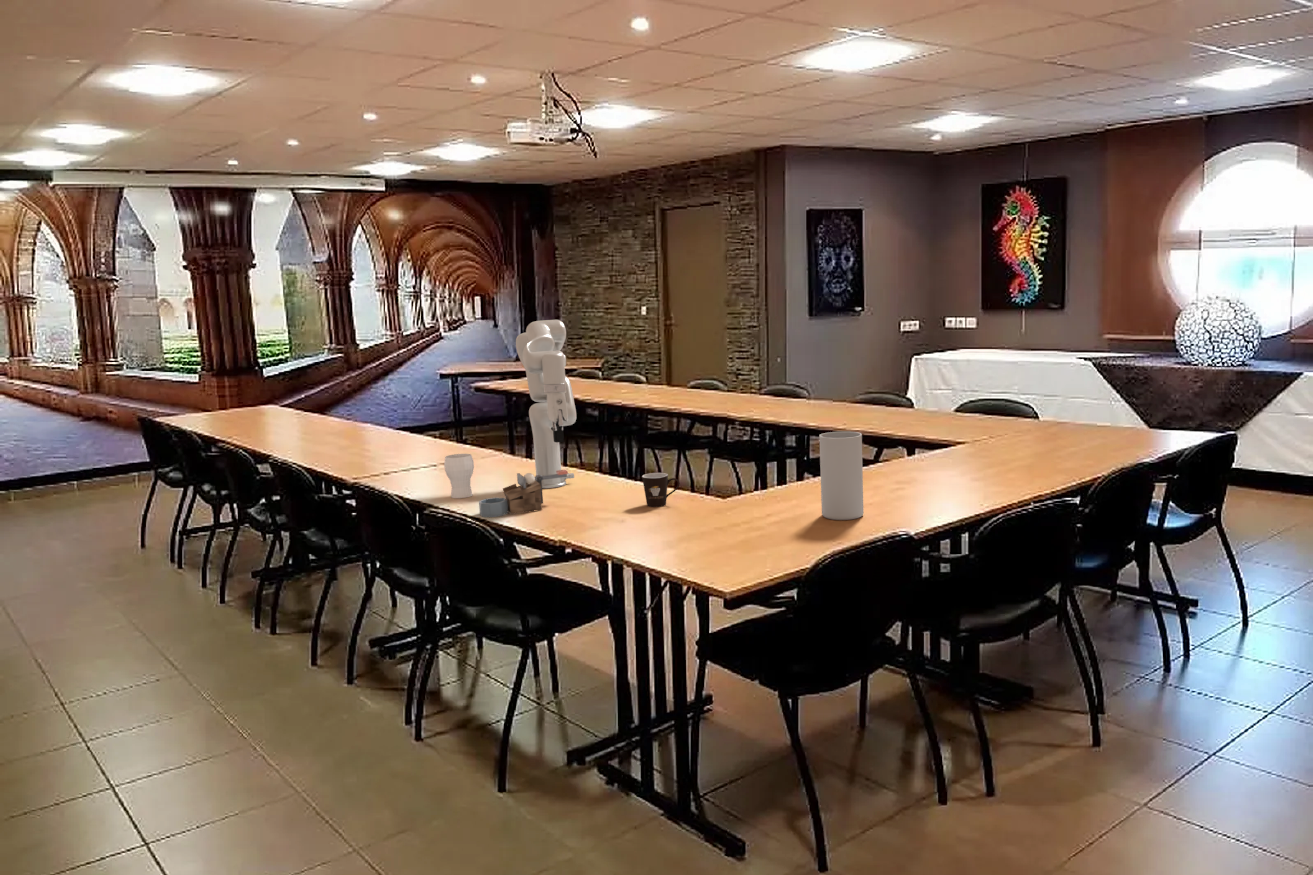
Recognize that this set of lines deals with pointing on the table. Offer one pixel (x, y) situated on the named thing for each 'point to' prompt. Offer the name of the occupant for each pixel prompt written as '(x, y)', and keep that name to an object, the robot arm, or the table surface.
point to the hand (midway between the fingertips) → (558, 441)
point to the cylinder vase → (841, 475)
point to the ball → (529, 478)
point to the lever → (541, 477)
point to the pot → (493, 507)
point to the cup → (459, 474)
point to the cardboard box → (524, 497)
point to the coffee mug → (657, 488)
